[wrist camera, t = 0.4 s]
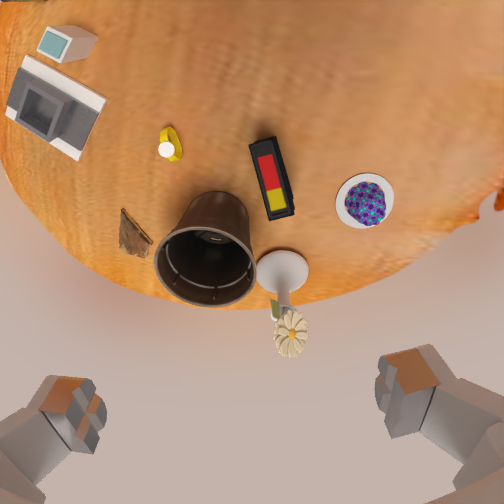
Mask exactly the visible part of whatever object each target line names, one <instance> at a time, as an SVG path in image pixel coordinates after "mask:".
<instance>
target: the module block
mask: <svg viewBox="0 0 504 504" xmlns="http://www.w3.org/2000/svg"><path fill="white" fill-rule="evenodd" d="M98 38H99V37H98V36H96V35H94V34H92V33H90V32H88V31H86V30H84V29H82V28H80V27H78V26H76V25H73V26H48V27H47V29H46V31H45V33H44V35H43V37H42V40H41V42H40V44H39V46H38V48H37V51H38V52H40V53H42V54H44V55H45V56H47V57H49V58H51V59H53V60H55V61H57V62H59V63H60V64H61V63H65V62H70V61H75V60H81V59H86V58H88V56H89V54H90V52H91V51H92V49H93V47H94V45H95V43H96V42H97V40H98Z"/></svg>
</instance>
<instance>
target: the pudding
mask: <svg viewBox="0 0 504 504" xmlns="http://www.w3.org/2000/svg"><path fill="white" fill-rule="evenodd" d="M363 181H371V182H374V183H376V184H374V183H371V184H368V183H366V182H363ZM359 182H362V183H359ZM357 183H359V184H358V186H357V187H352V186H354V185H355V184H357ZM377 184H378V185H379V186H380V187H381V188H382V189H383V191H384V193H383V191H381V190H379V187H378V185H377ZM351 187H352V188H351ZM350 188H351V189H350ZM349 189H350V190H349ZM348 191H349V192H348ZM347 192H348V197H347V198H346V199H345V196H346V194H347ZM384 194H385V197H384ZM344 199H345V206H346V207H347V208H348V213H349V214H350V215H351V216H352V217H351V216H350V215H349V214H348V213H347V211H346V209H345V206H344ZM393 203H394V194H393V190H392V187H391V186H390V184H389V183H388V182H387V181H386V180H385V179H384V178H383V177H381V176H379V175H376V174H368V173H366V174H360V175H357V176H355V177H353V178H351V179H349V180H348V181H347V182H346V183H345V184H344V185H343V186H342V187H341V189H340V190H339V192H338V194H337V198H336V211H337V214H338V216H339V218H340V219H341V220H342V221H343V222H344V223H345V224H347V225H349V226H351V227H354V228H359V229H364V228H370V227H373V226H375V225H377V224H379V223H380V222H382V221H383V220H384V219H385V218H386V217H387V216H388V214H389V213H390V211H391V209H392V207H393Z"/></svg>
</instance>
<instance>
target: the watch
mask: <svg viewBox="0 0 504 504" xmlns="http://www.w3.org/2000/svg"><path fill="white" fill-rule="evenodd" d="M168 135H169V137H170V139H171V141H172V142H171V141H169V140H168ZM160 143H161V144H160V145H159V147H158V151H159V153H160V155H161V156H162V157H165V158H167V159H168V160H169V161H171V162H175V161H178V160H180V159H181V158H182V146H181V143H180V141H179V139H178V136H177V134H176V131H175V130H174V129H173V128H172V127H167V128H164V129H162V130H161V132H160ZM174 153H175V154H174Z"/></svg>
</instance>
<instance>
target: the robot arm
mask: <svg viewBox="0 0 504 504" xmlns="http://www.w3.org/2000/svg"><path fill="white" fill-rule="evenodd" d="M378 369H379V371H380V374H379V376H378V377H377V378H376V381H375V397H376V401H377V404H378V407H379V409H380V410H381V411H383V412H384V413H386V416H385V420H384V422H385V424H386V427H387V429H388V432H389V434H390V436H391V438H396V437H400V436H404V435H408V434H411V433H415V432H418V431H420V432H419V433H420V434H422V435H423V436H424V437H426V438H427V439H429V440H430V441H431V442H433V443H435V444H436V445H437V446H438V447H440V448H441V449H443V450H444V451H445V452H447V453H448V454H450V455H451V456H452V457H454V458H455V459H457V460H458V461H460V462H461V463H463V464H464V465H463V467H462V468H461V470H460V471H459V472H458V474H457V475H456V476H455V478H454V480H453V483H454V486H455V488H456V491H454V492H452V493H450V494H448V495H445V496H443V497H440V498H438V499H435V500H433V501H430V502H428V503H425V504H504V396H502V395H499V394H497V393H494V392H492V391H490V390H488V389H485V388H483V387H481V386H478V385H476V384H474V383H472V382H469V381H467V380H465V379H463V378H460V379H457V378H456V377H455V376H454V374H453V372H452V371H451V370H450V368H449V367H448V366H447V364H446V363H445V362H444V360H443V359H442V357H441V356H440V355H439V353H438V352H437V351H436V349H435V348H434V347H433V346H432V345H431V344H427V345H423V346H419V347H415V348H413V349H409V350H404V351H400V352H396V353H391V354H387V355H383V356H381V357H380V359H379V362H378ZM95 391H96V387H95V385H94V384H93V382H92V380H90V379H87V378H77V377H67V376H55V375H49V376H47V377H46V378H45V380H44V381H43V383H42V384H41V386H40V387H39V389H38V390H37V392H36V393H35V395H34V396H33V398H32V400H31V401H30V403H29V404H28V406H27V407H26V408H21V409H20V410H18V411H17V412H15V413H13V414H12V415H10V416H8V417H7V418H5V419H4V420H2V421H0V504H44V501H45V499H46V497H45V494H44V493H43V492H42V491H41V490H40V489H38V488H37V487H36V485H37V484H38V483H39V482H40V481H41V480H42V479H43V478H44V477H45V476H46V475H47V474H49V473H50V472H51V471H52V470H53V469H54V468H55V467H56V466H57V465H58V464H59V463H60V462H61V461H62V460H63V459H65V458H66V457H67V456H68V455H69V454H70V453H71V451H75V452H81V453H88V454H94V451H95V449H96V446H97V444H98V441H99V439H100V438H99V435H98V431H99V430H101V429H102V428H103V427H104V426H105V423H106V419H107V410H106V406H105V403H104V402H103V400H102V398H100V397H99V396H98V395H97V394H95Z"/></svg>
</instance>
